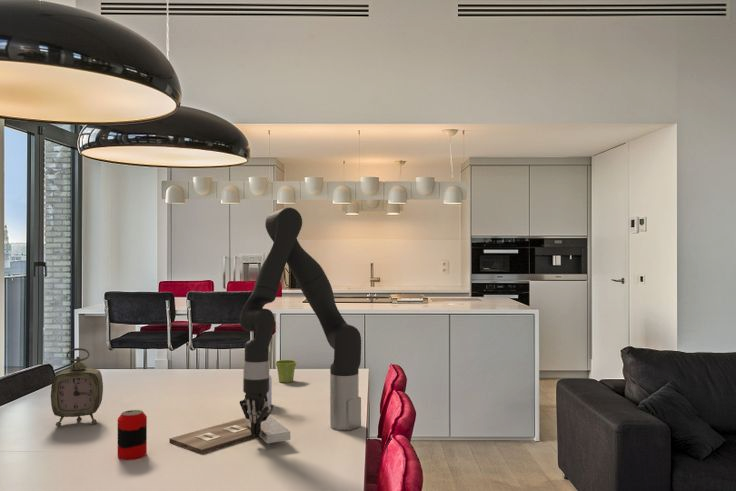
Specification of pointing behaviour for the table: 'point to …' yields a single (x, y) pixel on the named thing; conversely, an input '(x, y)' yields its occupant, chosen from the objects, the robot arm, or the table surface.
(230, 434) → the label panel
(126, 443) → the soda can
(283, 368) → the plant pot
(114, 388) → the table surface
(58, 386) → the tabletop clock
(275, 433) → the swing arm
